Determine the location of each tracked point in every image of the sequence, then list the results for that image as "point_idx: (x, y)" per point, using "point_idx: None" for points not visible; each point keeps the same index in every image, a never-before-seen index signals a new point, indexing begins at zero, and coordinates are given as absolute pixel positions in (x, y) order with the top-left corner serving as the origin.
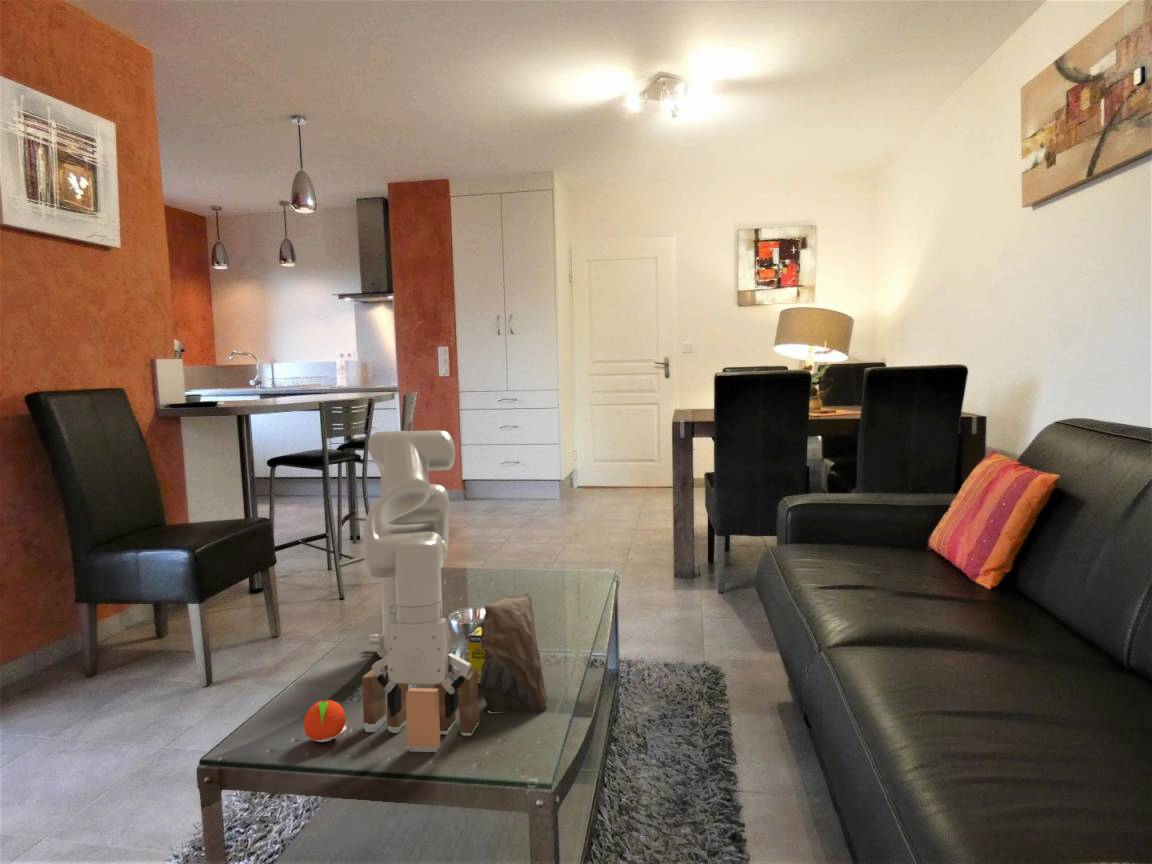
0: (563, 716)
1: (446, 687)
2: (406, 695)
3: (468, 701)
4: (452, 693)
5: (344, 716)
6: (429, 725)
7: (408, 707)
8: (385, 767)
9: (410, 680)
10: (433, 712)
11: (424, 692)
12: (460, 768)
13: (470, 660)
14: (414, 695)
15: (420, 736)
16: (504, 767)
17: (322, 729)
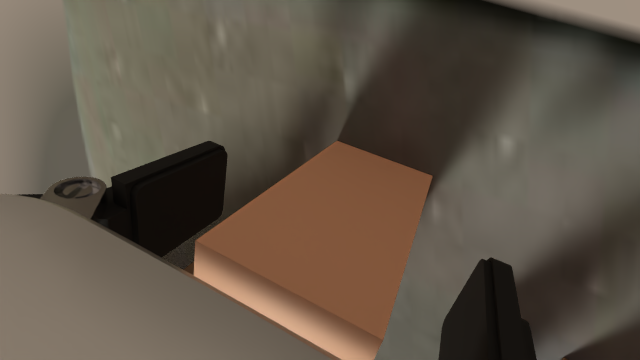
0: None
1: (78, 209)
2: (383, 320)
3: (189, 271)
4: (89, 177)
5: None
6: (318, 178)
7: (391, 263)
8: (524, 72)
9: (244, 347)
10: (270, 193)
11: (253, 279)
12: (254, 17)
13: None
14: (326, 292)
15: (371, 178)
16: (150, 6)
17: None
